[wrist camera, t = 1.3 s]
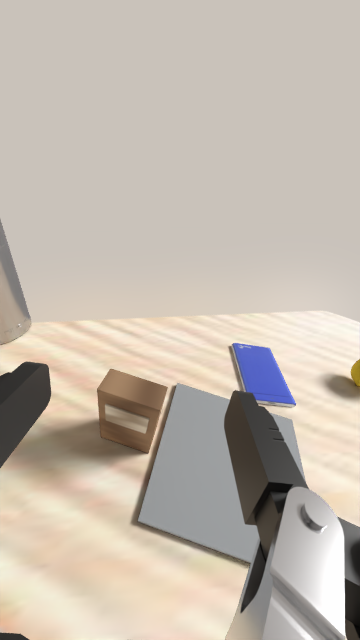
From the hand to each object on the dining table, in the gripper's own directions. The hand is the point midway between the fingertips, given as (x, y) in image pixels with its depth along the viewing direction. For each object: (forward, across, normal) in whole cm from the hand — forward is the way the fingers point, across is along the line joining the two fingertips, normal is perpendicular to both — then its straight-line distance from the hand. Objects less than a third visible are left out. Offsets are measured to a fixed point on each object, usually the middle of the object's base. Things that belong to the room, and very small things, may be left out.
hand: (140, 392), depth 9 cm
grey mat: (+10, -11, +18) cm, 23 cm away
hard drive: (+24, -19, +15) cm, 34 cm away
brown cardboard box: (+11, +2, +17) cm, 20 cm away
